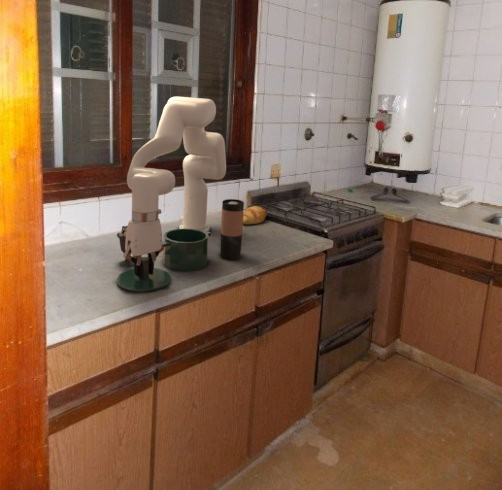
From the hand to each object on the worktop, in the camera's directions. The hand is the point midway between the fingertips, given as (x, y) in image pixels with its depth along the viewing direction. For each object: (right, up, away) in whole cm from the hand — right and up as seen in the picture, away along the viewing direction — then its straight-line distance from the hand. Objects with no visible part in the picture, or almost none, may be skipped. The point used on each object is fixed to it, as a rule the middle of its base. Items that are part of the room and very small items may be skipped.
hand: (144, 274), depth 131 cm
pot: (+10, 0, +17) cm, 20 cm away
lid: (0, -2, 0) cm, 2 cm away
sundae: (-9, 0, +13) cm, 16 cm away
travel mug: (+25, +1, +25) cm, 35 cm away
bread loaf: (+33, +9, +70) cm, 78 cm away
